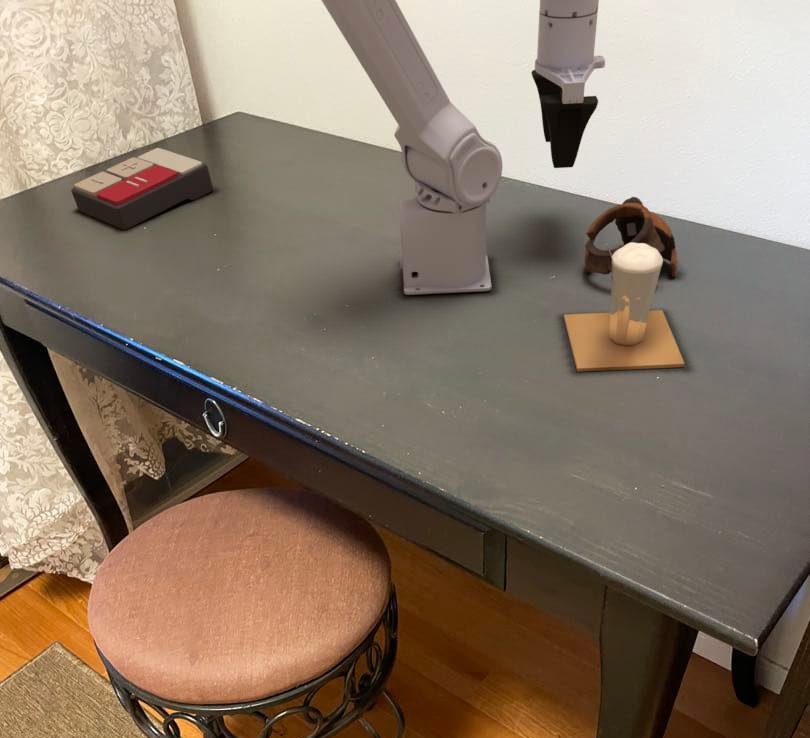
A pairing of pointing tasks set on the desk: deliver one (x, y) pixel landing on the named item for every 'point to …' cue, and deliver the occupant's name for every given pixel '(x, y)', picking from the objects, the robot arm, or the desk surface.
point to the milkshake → (632, 290)
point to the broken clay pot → (630, 235)
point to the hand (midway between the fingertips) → (558, 153)
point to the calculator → (142, 187)
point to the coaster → (604, 354)
